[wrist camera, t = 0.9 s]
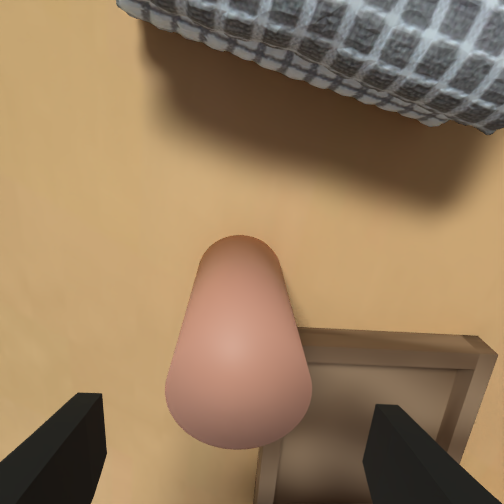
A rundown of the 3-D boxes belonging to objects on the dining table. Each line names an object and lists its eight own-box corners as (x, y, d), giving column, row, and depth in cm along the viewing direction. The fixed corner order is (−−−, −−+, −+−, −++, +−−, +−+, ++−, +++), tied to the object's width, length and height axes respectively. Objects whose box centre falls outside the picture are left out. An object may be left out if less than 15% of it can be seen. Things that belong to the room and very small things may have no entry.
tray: (421, 506, 26) (434, 533, 24) (253, 502, 25) (254, 530, 23) (477, 335, 21) (498, 354, 19) (271, 325, 20) (274, 344, 19)
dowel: (276, 313, 20) (303, 451, 12) (197, 309, 20) (165, 447, 12) (284, 237, 19) (321, 334, 10) (199, 232, 19) (164, 326, 10)
